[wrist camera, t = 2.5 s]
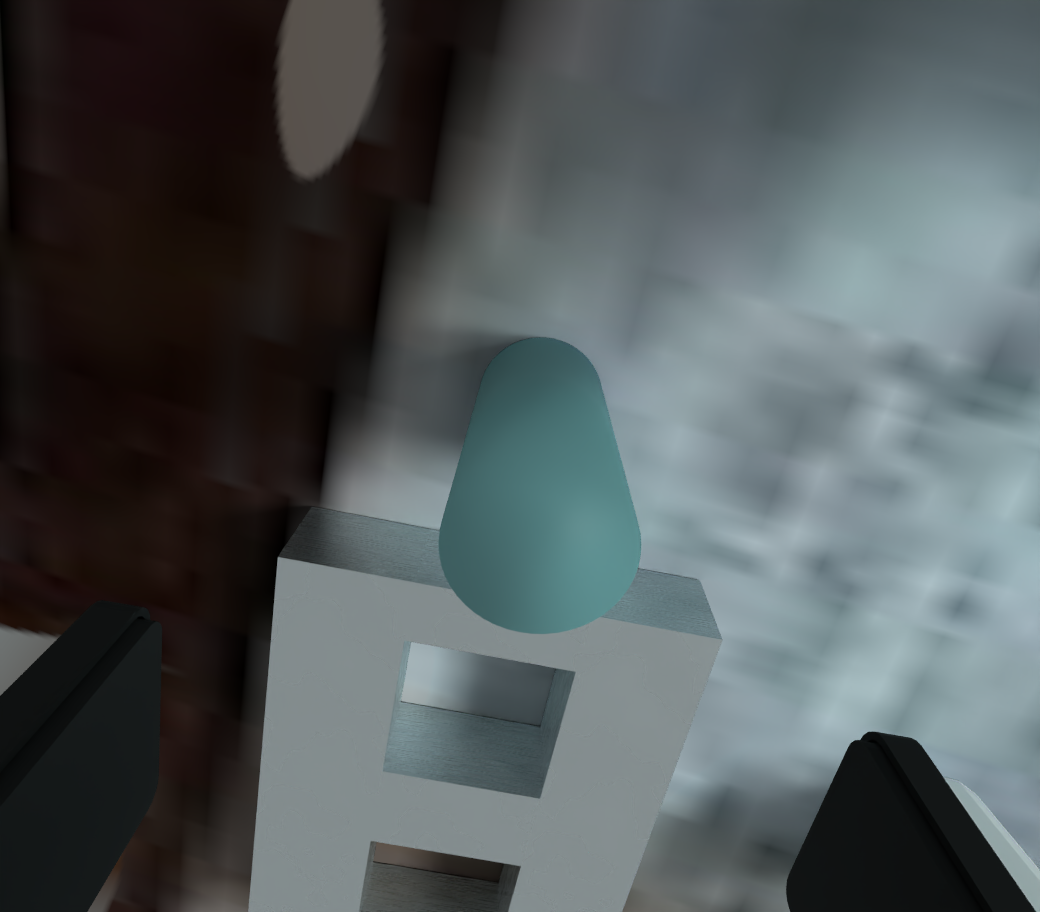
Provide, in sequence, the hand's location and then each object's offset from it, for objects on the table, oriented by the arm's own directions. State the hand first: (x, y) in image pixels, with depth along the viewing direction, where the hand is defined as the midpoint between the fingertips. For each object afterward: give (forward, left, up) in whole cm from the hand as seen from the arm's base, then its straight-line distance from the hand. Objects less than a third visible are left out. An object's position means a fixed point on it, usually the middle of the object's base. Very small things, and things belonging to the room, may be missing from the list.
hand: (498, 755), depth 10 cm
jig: (+15, 0, -15) cm, 21 cm away
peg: (0, 0, -15) cm, 15 cm away
